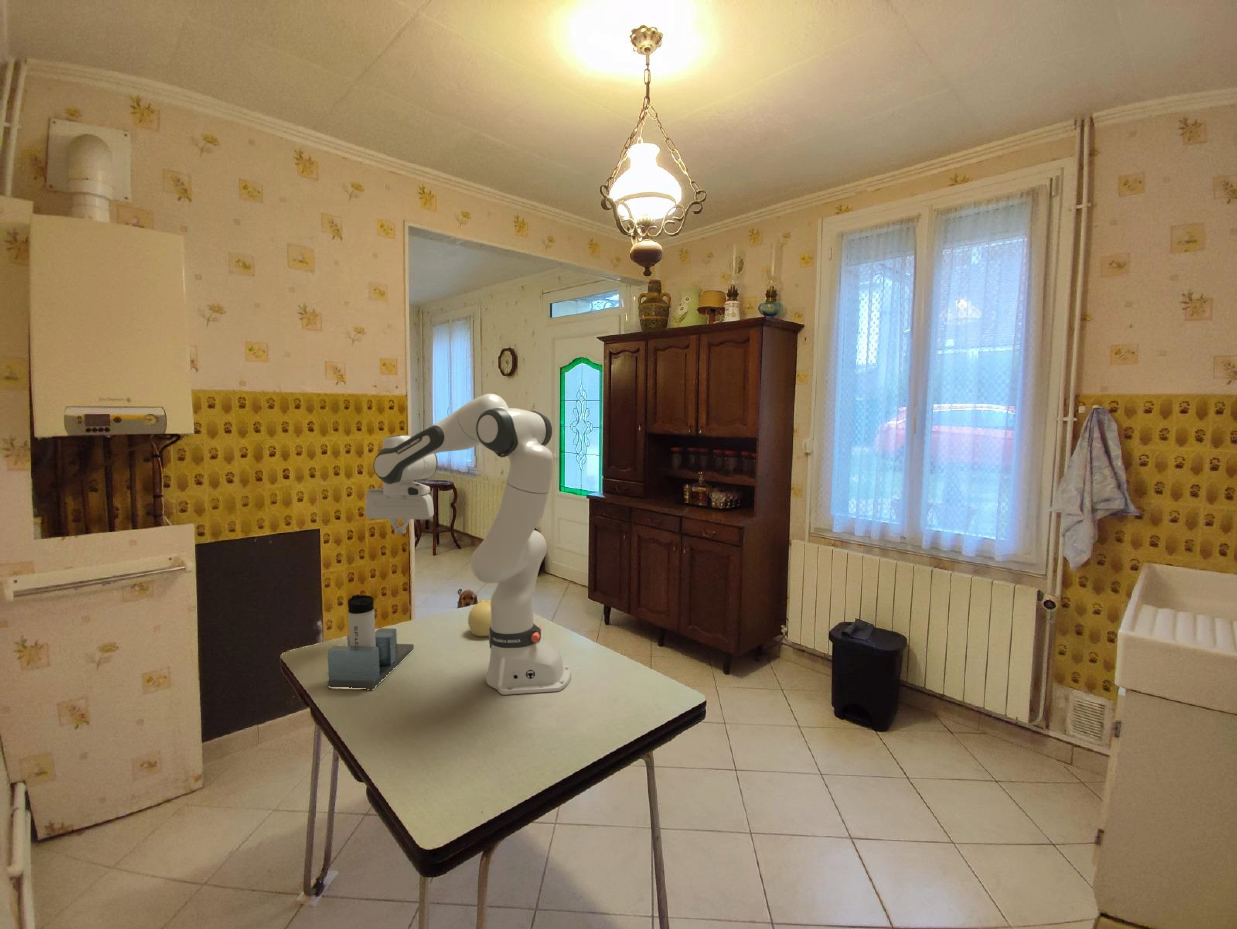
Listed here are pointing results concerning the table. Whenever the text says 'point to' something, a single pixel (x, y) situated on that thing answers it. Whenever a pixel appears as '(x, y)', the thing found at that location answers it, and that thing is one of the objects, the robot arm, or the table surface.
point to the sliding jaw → (385, 645)
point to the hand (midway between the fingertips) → (400, 533)
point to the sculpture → (480, 618)
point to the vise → (360, 665)
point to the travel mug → (361, 621)
